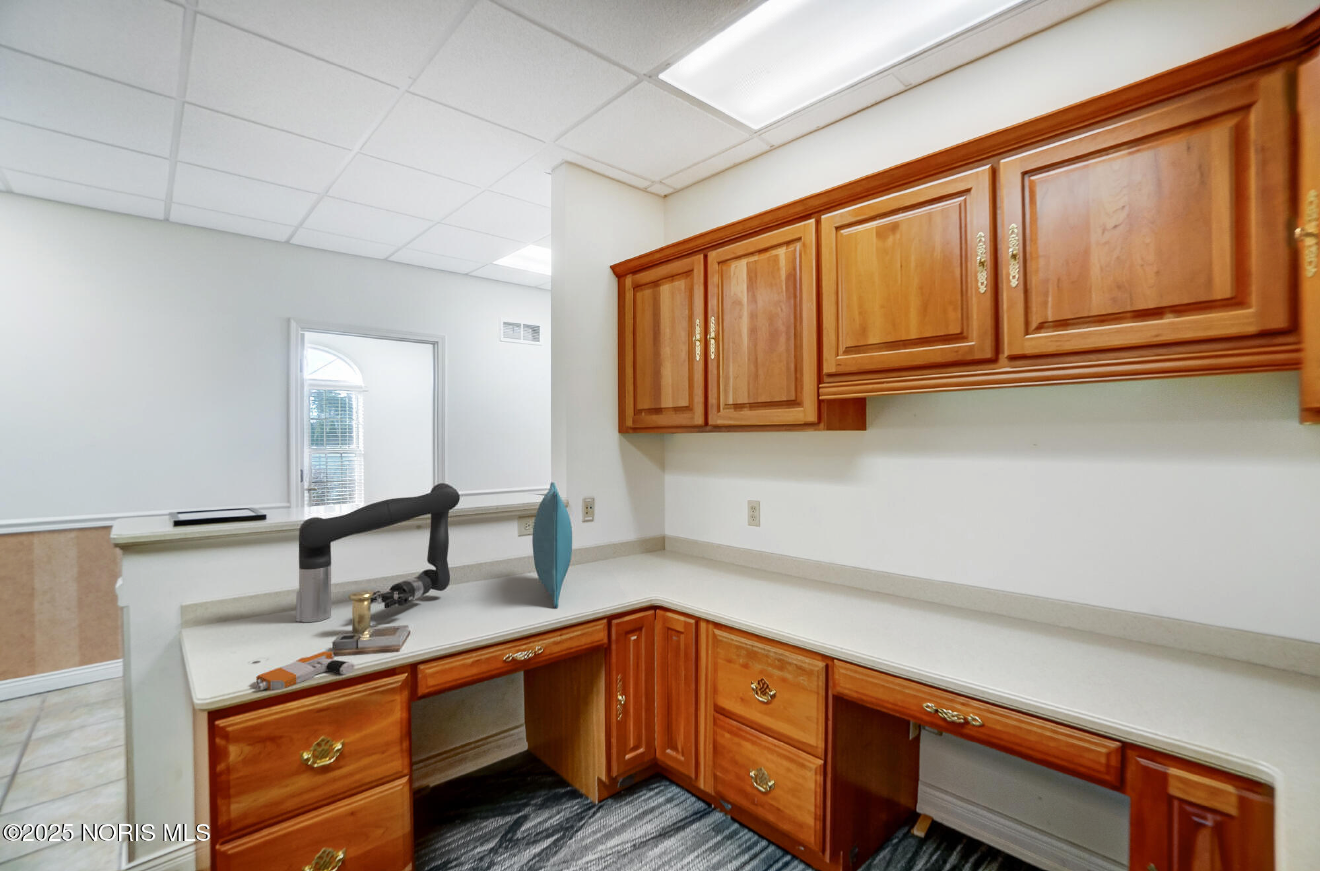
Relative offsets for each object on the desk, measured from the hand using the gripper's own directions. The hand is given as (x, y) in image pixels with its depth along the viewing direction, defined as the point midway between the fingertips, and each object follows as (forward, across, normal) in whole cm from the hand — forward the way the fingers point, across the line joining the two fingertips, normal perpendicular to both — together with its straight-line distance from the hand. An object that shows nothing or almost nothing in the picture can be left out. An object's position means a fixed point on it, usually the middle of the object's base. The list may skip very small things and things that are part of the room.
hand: (373, 604), depth 184 cm
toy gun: (+38, +10, +8) cm, 40 cm away
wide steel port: (+13, +14, +7) cm, 20 cm away
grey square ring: (+19, +7, +7) cm, 21 cm away
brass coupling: (+5, 0, +7) cm, 9 cm away
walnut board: (+14, +10, +7) cm, 19 cm away
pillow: (-50, +39, +7) cm, 64 cm away
